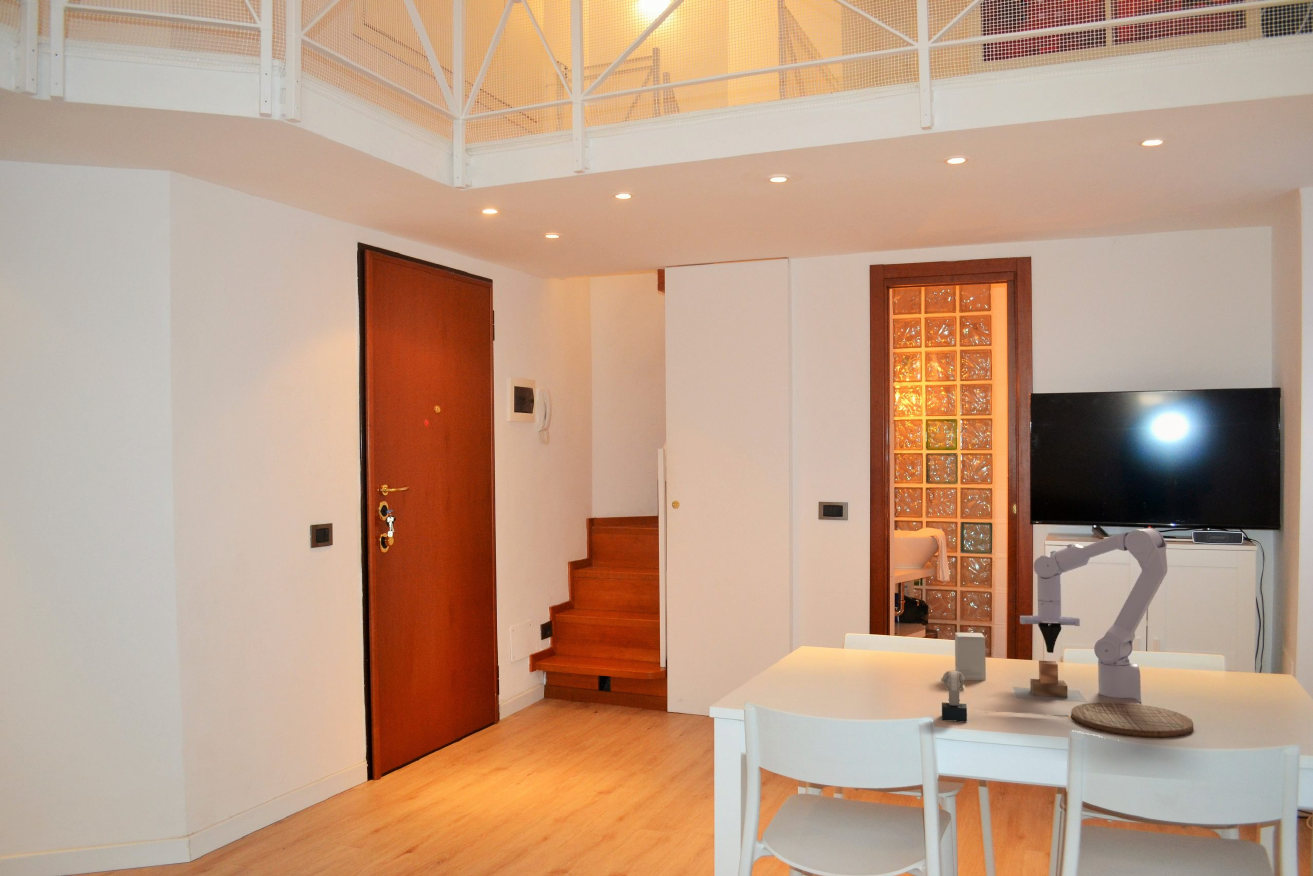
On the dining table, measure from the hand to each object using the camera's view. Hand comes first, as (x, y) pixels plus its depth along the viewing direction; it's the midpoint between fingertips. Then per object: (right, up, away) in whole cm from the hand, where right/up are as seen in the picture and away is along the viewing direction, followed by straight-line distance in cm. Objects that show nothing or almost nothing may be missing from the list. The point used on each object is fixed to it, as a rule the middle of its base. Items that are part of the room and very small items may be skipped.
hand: (1050, 652), depth 254 cm
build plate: (-5, -9, -11) cm, 15 cm away
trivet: (+4, -9, -34) cm, 36 cm away
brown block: (-5, -8, -11) cm, 15 cm away
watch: (-35, -9, -30) cm, 47 cm away
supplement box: (-18, -10, +9) cm, 23 cm away
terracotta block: (-5, -5, -11) cm, 13 cm away
